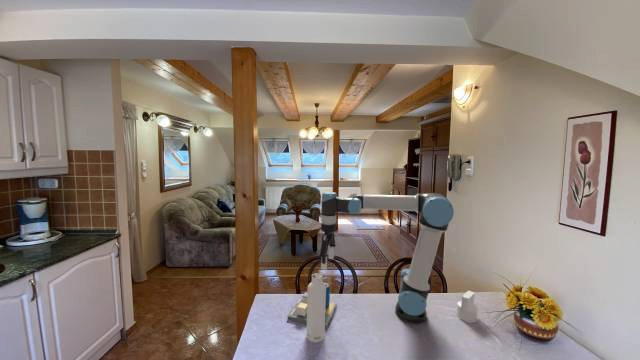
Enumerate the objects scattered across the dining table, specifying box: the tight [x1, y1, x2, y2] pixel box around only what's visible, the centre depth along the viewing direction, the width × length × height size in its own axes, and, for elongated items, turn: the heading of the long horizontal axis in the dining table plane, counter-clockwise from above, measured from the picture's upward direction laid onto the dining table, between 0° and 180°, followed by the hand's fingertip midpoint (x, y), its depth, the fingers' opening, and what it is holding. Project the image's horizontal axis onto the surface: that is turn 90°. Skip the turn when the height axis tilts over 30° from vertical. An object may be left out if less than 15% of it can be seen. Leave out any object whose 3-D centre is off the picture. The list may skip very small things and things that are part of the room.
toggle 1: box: [297, 302, 307, 316], centre depth 127 cm, size 4×4×4 cm
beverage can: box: [323, 281, 331, 309], centre depth 133 cm, size 6×6×12 cm
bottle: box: [305, 272, 326, 343], centre depth 114 cm, size 8×8×28 cm
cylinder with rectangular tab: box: [456, 290, 479, 323], centre depth 132 cm, size 9×9×12 cm
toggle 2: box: [302, 291, 308, 304], centre depth 137 cm, size 4×4×4 cm
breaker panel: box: [287, 296, 338, 330], centre depth 131 cm, size 20×18×2 cm
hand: (327, 263), depth 132 cm, fingers open, 13 cm apart
